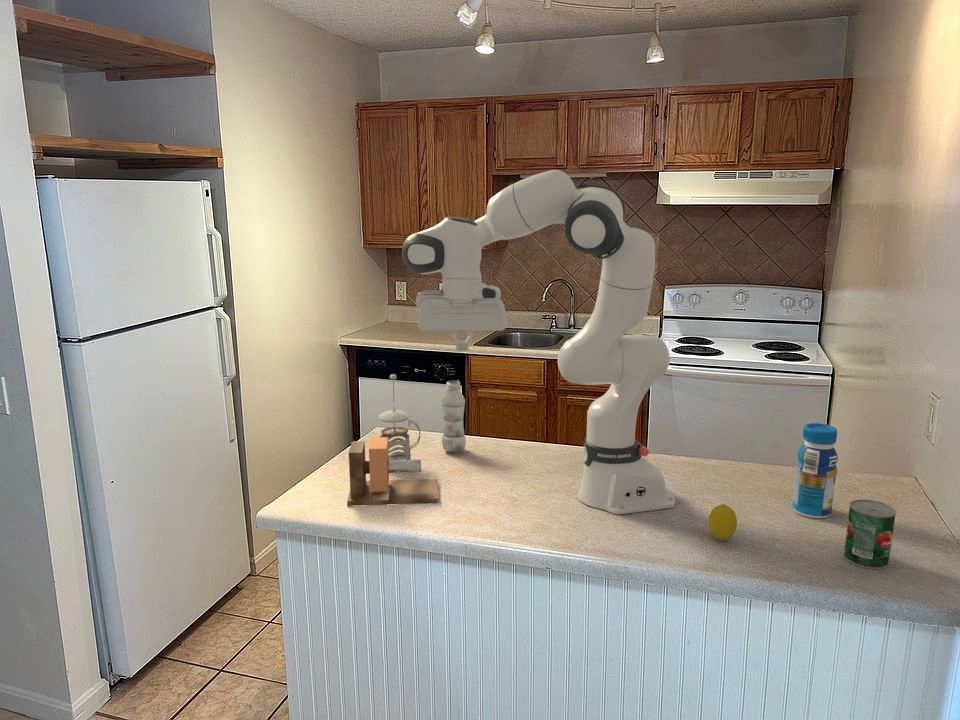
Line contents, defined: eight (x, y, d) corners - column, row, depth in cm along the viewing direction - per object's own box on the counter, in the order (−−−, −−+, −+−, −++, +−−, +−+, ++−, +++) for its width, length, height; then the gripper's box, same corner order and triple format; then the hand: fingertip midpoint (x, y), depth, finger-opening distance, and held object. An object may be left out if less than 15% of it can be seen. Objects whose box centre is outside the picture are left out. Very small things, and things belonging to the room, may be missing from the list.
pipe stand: (437, 483, 177) (437, 436, 175) (438, 503, 166) (437, 453, 163) (352, 485, 176) (350, 438, 173) (347, 506, 164) (345, 455, 162)
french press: (377, 460, 193) (374, 370, 188) (420, 458, 195) (418, 369, 189) (376, 473, 184) (373, 379, 178) (421, 471, 185) (419, 378, 180)
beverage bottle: (784, 504, 165) (792, 421, 161) (818, 503, 166) (828, 421, 161) (803, 520, 157) (812, 433, 152) (840, 519, 158) (850, 432, 153)
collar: (389, 478, 174) (388, 437, 172) (387, 491, 166) (386, 448, 164) (372, 478, 174) (371, 437, 171) (370, 491, 166) (368, 449, 164)
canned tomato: (840, 547, 145) (846, 497, 142) (883, 553, 142) (890, 501, 140) (847, 566, 137) (854, 513, 135) (893, 572, 135) (901, 518, 133)
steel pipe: (421, 469, 172) (420, 457, 171) (421, 474, 169) (420, 462, 168) (358, 471, 170) (357, 459, 170) (356, 476, 167) (356, 463, 167)
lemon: (720, 548, 144) (723, 511, 142) (701, 537, 149) (704, 501, 147) (741, 543, 146) (744, 507, 145) (722, 532, 151) (725, 497, 150)
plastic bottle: (463, 456, 196) (462, 385, 192) (439, 454, 198) (438, 384, 193) (468, 448, 203) (467, 380, 198) (445, 446, 204) (444, 378, 200)
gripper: (415, 291, 158) (416, 353, 160) (507, 291, 159) (507, 352, 162) (415, 288, 164) (416, 347, 167) (504, 288, 165) (504, 346, 168)
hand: (462, 349), depth 164 cm, fingers closed
